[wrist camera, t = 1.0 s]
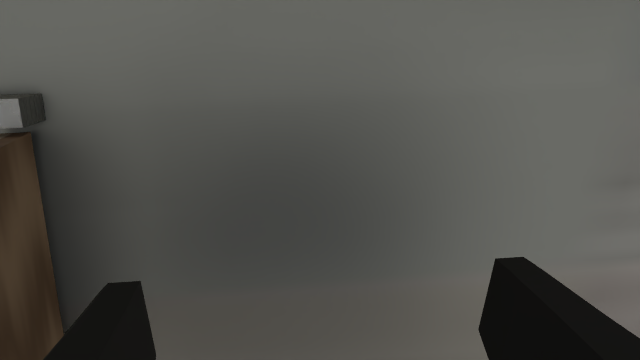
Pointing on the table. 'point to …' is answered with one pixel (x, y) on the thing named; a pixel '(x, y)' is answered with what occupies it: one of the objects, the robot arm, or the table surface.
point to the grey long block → (21, 110)
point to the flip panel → (24, 258)
